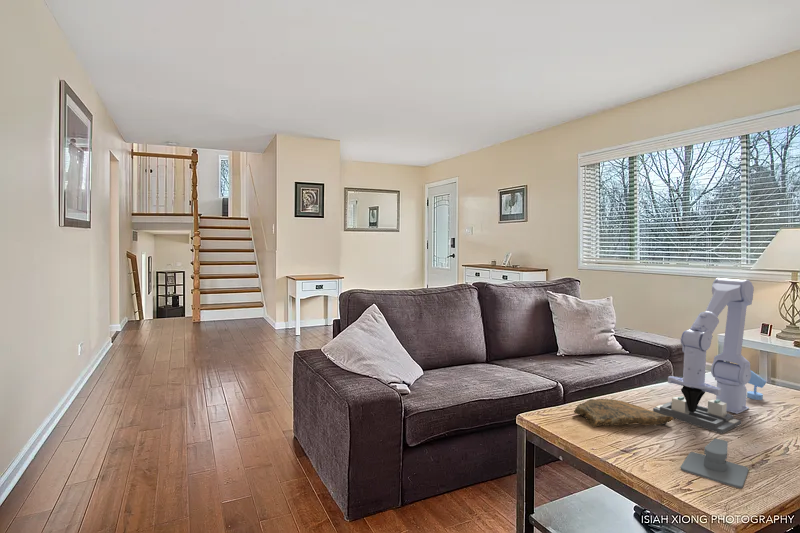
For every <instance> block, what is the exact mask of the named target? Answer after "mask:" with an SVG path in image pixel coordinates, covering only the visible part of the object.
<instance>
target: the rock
mask: <svg viewBox="0 0 800 533" xmlns="http://www.w3.org/2000/svg"><path fill="white" fill-rule="evenodd" d="M573 413H574V414H577V415H581V416H584V418H585V419H586V424H589V425H590V426H591V427H593V426H594V427H593V428H597V427H599V426H606V427H608V426H619V425H621V426H622V425H634V424H639V425H643V426H661V425H665V424H668V423H670V422H672V421H673V420H674V418H673V417H671V416H666V415H663V414H659V413H657V412H654V411H653V410H650V409H646V408H645V407H641V406H639V405H636V404H633V403H629V402H626V401H623V400H618V399H613V398H611V399H609V398H598V399H594V398H592V399H588V400H586V401H585V402H582V403H579V404H578V405H577V406H576V407H575V409H574V411H573Z"/></svg>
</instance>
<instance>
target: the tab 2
mask: <svg viewBox="0 0 800 533" xmlns="http://www.w3.org/2000/svg"><path fill="white" fill-rule="evenodd" d="M726 407H727V403H724V402H721V400H719V399H717V400H716V399H709V400H707V408H708V411H707V413H711V414H714V415H717V416H721V417H724V416H726V413H727V411H726Z"/></svg>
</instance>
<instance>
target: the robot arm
mask: <svg viewBox="0 0 800 533" xmlns="http://www.w3.org/2000/svg"><path fill="white" fill-rule="evenodd" d="M754 288H755V287H754V285H753V283H752V281H751V280H749V279H737V278H736V279H734V278H723V277H722V278H721V277H717V278H715V279H714V280H713V282H712V285H711V292H712V293H711V295H712V296H711V298H710V301H709V302H708V304H707V307H706V309H705V311H701V312H699V314H698V315H697V317H696V318H695V319H694V322H693V323H692V324H691V326H690V328H689V329H686V330H684V331H683V332H682V334H681V337H680V344H681V347H682V348H681V349H682V350H681V351H682V353H683V371H682V372H683V375H682V377H678V376H672V375H669V376H667V383H668V384H674V385H678V386H682V388H681V389H680V390H681V391H680V392H681V393H682V395H683V397H684V399H686V402H687V406H688V411H690V412H695V411H696V409H697V406H698V405H699V403H700V401H701V399H702V397H703V396H704V395H705V393H709V394H713V395H714V396H715V400H717V399H719V400H721V402H724V403H727V407H726V412H728V413H731V414H732V413H733V414H740V413H742V412H744V411H746V410H749V409H750V407H749V406H747V392H748V390H747V387H746V385H747V384H749V383H748V382H749V381H750V378H751V371H752V370H751V362H750V361H749V360H748V359H747V358H745V356H743V355H742V350H743V349H742V348H743V341H744V333H745V332H744V331H745V326H746V325H745V324H746V323H745V322H746V315H747V307H748V306H750V305H751V306H752V303H753V300H754V299H753V298H754V290H755V289H754ZM726 306H727V314H726V321H725V322H726V323H725V330H724V339H723V349H722V352H721V353H718V354H716V355H715V356H714V357H713V361H712V363H711V366H710V372H711V375H712V377H713V378H714V381H716V386H715V385H711V384H709V383H707V382H705V380H706V361H707V351H708V350H709V349H710V347H711V344H712V340H713V333H714V332H715V330H716V328H717V327H718V325H719V323H720V319H719V316H720V314H721V313H722V312H723V310H724V309H725V308H726Z"/></svg>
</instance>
